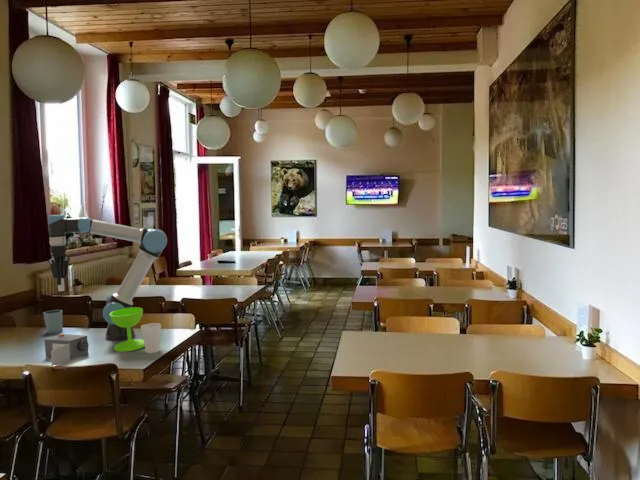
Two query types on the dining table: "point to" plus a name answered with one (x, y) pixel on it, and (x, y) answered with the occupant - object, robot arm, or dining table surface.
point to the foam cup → (151, 337)
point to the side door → (61, 354)
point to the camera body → (76, 343)
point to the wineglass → (128, 327)
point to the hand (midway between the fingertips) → (61, 290)
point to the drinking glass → (53, 321)
